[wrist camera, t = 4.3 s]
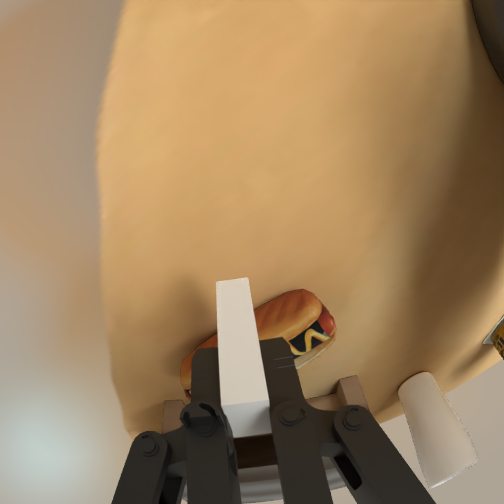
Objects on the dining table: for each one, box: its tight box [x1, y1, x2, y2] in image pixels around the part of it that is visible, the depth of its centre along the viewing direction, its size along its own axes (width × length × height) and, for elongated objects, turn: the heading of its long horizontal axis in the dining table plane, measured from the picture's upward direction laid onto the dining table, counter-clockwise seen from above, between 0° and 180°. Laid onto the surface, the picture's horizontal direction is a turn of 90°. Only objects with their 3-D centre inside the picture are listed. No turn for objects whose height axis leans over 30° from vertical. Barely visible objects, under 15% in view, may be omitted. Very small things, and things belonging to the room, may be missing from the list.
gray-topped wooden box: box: [162, 375, 370, 504], centre depth 29 cm, size 12×21×10 cm, turn 96°
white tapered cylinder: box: [398, 372, 479, 488], centre depth 27 cm, size 7×7×15 cm
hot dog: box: [180, 289, 336, 401], centre depth 22 cm, size 5×13×5 cm, turn 127°
